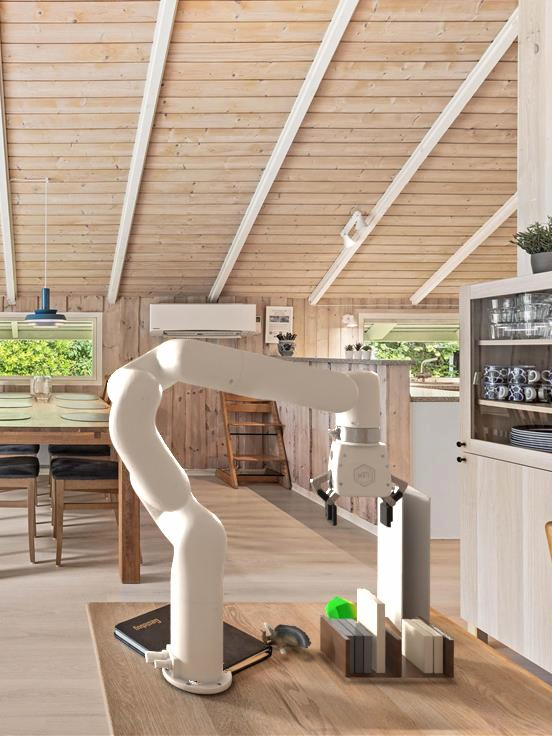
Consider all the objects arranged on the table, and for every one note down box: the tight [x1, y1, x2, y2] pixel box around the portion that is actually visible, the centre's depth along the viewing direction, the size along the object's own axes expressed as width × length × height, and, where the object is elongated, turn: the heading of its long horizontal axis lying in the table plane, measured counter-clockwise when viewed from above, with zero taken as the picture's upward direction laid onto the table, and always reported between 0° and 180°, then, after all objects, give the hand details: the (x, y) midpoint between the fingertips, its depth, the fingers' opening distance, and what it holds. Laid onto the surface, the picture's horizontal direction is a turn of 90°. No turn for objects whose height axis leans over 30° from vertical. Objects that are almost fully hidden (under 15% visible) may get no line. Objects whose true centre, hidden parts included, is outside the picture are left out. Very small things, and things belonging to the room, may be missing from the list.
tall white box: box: [377, 484, 431, 634], centre depth 139 cm, size 14×6×30 cm, turn 168°
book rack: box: [319, 614, 455, 679], centre depth 120 cm, size 20×10×8 cm, turn 90°
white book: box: [356, 588, 386, 673], centre depth 120 cm, size 2×7×13 cm, turn 0°
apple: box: [325, 595, 357, 622], centre depth 138 cm, size 7×6×9 cm
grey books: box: [327, 618, 372, 673], centre depth 120 cm, size 5×7×7 cm
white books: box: [401, 619, 443, 673], centre depth 120 cm, size 4×7×7 cm, turn 0°
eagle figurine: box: [259, 622, 312, 656], centre depth 125 cm, size 8×7×9 cm
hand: (358, 524), depth 119 cm, fingers open, 9 cm apart
